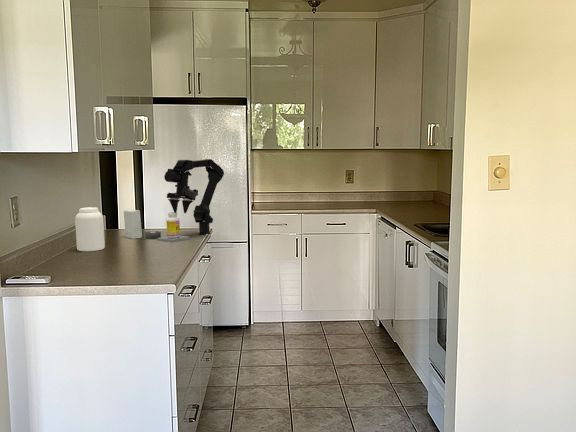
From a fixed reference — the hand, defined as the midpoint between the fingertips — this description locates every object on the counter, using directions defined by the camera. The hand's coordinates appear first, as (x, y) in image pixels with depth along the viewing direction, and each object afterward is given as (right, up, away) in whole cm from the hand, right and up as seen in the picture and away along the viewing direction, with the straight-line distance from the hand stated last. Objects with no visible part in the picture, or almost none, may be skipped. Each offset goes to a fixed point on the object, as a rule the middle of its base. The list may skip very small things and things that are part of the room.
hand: (180, 212), depth 285 cm
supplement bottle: (-3, -13, -3) cm, 14 cm away
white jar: (-37, -18, -28) cm, 50 cm away
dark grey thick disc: (-15, -13, +3) cm, 21 cm away
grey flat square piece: (-3, -14, -3) cm, 15 cm away
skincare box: (-26, -14, +5) cm, 30 cm away
